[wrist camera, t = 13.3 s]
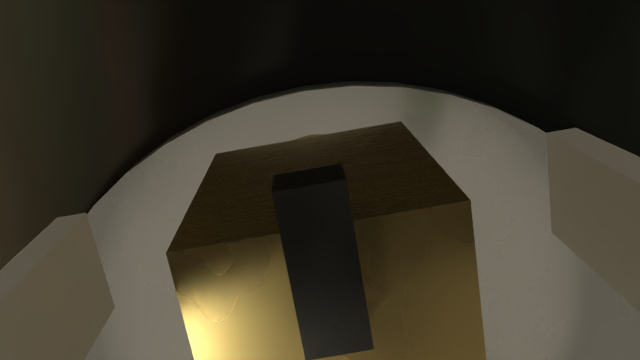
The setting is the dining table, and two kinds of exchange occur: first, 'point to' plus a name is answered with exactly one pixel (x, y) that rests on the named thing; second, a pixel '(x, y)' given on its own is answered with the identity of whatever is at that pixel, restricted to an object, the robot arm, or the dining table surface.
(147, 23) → the dining table surface
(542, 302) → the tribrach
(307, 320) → the knob
